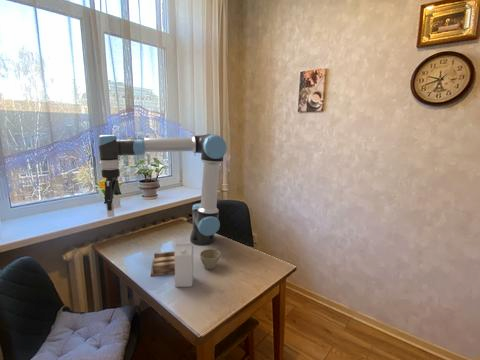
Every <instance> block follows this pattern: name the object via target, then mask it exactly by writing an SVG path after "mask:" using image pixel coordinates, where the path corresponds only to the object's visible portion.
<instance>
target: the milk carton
mask: <svg viewBox="0 0 480 360" xmlns="http://www.w3.org/2000/svg"><path fill="white" fill-rule="evenodd" d="M174 251H175V254H174V260H175V273H174V283H175V288H186V287H188V288H189V287H193V281H194V247H193V243H191V242H175V247H174Z"/></svg>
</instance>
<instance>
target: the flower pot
mask: <svg viewBox="0 0 480 360" xmlns="http://www.w3.org/2000/svg"><path fill="white" fill-rule="evenodd" d="M199 257H200V261H201V263H202V265H203V267H204V269H206V270H213V269H214V268H216V266H217V264H218V263H219V260H220V257H221V252H220V251H219V250H217V249H215V248H207V249H203V250H201V251H200V253H199Z"/></svg>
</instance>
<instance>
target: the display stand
mask: <svg viewBox="0 0 480 360" xmlns="http://www.w3.org/2000/svg"><path fill="white" fill-rule="evenodd" d="M174 254H175V250H173V251H165V252H155V253H154V255H153V257H154V258H153V259H152V260H151V267H150V268H151V271H150V277H157V276H163V275H164V276H166V275H172V274H173V275H175V260H174Z"/></svg>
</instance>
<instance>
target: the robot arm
mask: <svg viewBox="0 0 480 360" xmlns="http://www.w3.org/2000/svg"><path fill="white" fill-rule="evenodd" d="M98 150H99V151H98V153H99V160H100V161H99V164H100V167H101V170H100V171H101V177H102V178H103V179H106V181H104V202H103V204H104V205H106V213H107V215H106V216H107V218H113V217H115V209H116V208H121V206H122V205H121V197H120V195H122V191H121V190H120V185H119V179H118V178H119V177H121V175H120V174H121V173H120V161H119V157H121V156H122V157H123V156H144V155H145V154H146V153H167V152H168V153H172V152H173V153H174V152H179V153H180V152H192V153H194V154H201V155H200V156H201V157H200V160H201V161H202V163H203V169H202V183H201V184H202V185H201V195H200V196H201V197H200V202H199V203H195V204H193V205H192V209H191V212H192V229H191V230H192V231H191V233H190V236H189V241H190V242H189V243H192V245H197V246H207V245H210V244H212V243H214V241H216V240H215V239H216V237H215V234H216V233H217V232H218V231H219V230H220V226H221V223H220V220H219V214H220V213H219V212H220V211H219V209H218V208H217V204H218V202H217V201H218V191H219V181H220V180H219V178H220V168H221V164H222V163H223V162H224V156H225V155H226V153H227V150H228V147H227V143H226V141H225V139H224V138H223V137H221V136H220V135H219V134H210V133H208V134H207V133H206V134H201V135H193V136H192V137H130V138H127V139H118V137H117V135H115V134H100V135H99V136H98Z"/></svg>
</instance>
